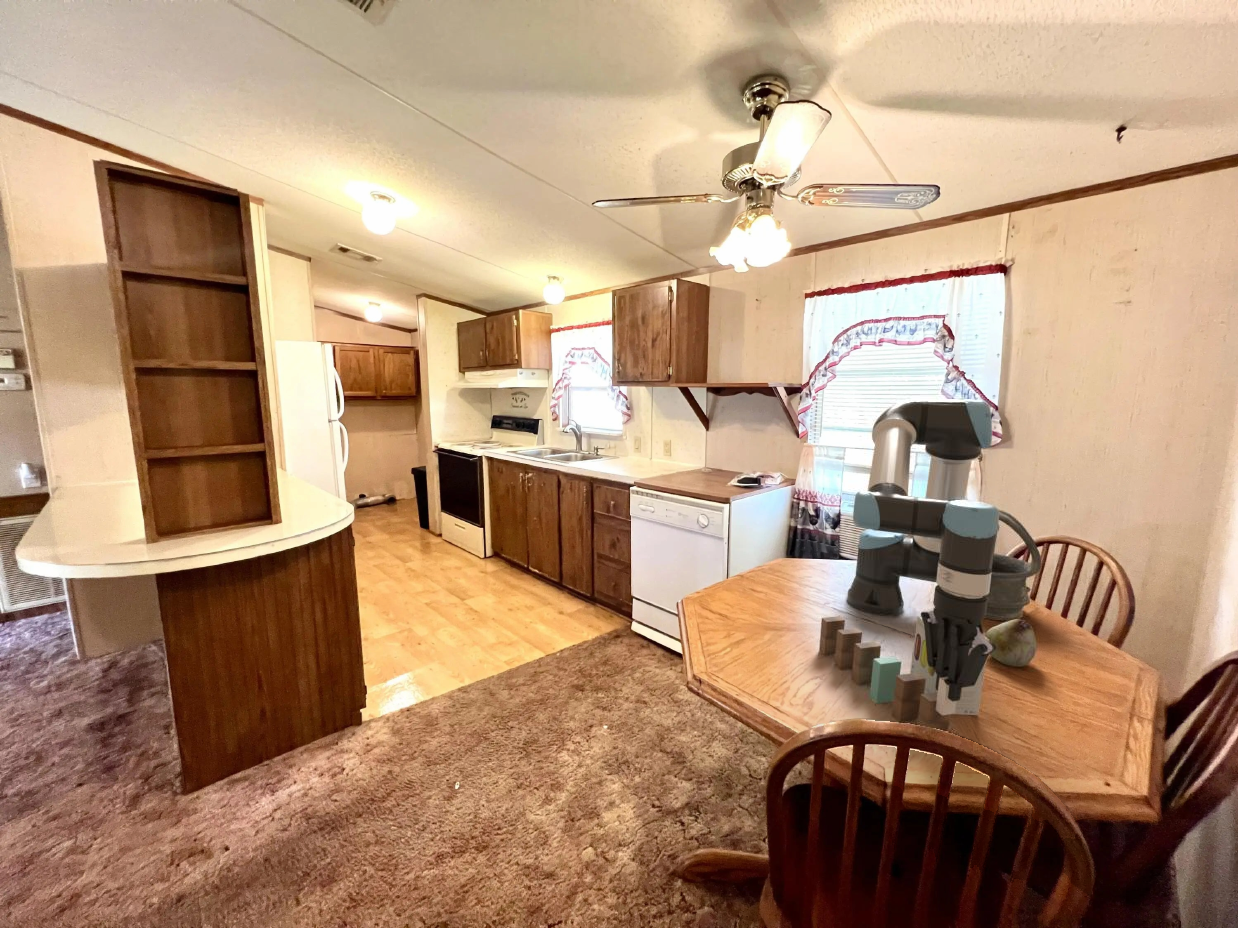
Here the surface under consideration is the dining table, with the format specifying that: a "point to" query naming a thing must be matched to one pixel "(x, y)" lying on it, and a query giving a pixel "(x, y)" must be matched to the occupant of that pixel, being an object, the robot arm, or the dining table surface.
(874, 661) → the teal domino
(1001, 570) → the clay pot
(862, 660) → the domino
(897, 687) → the domino
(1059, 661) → the dining table surface
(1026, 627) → the fruit
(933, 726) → the domino
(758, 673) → the dining table surface
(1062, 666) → the dining table surface
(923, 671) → the supplement box
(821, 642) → the domino
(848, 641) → the domino
